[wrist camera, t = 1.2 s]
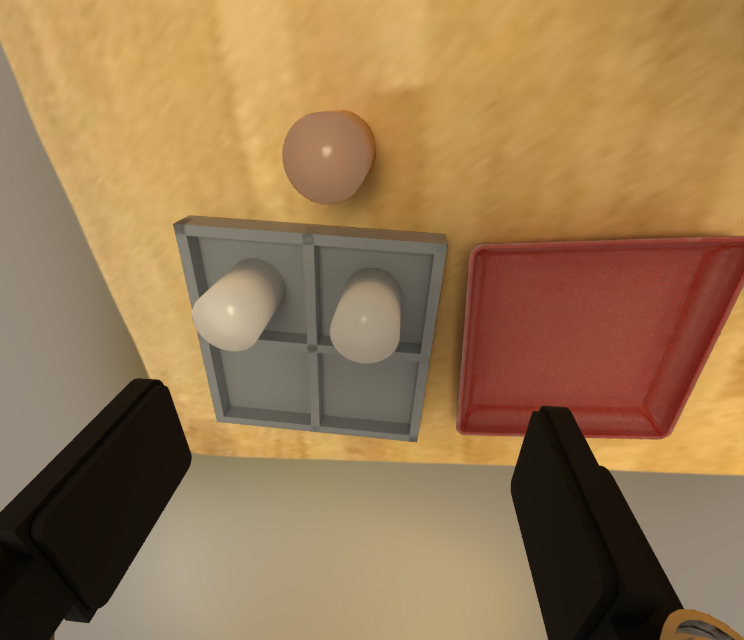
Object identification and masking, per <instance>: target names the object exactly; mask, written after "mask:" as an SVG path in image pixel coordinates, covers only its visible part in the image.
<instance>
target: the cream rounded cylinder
mask: <svg viewBox="0 0 744 640" xmlns="http://www.w3.org/2000/svg"><path fill="white" fill-rule="evenodd" d="M401 295H402V293H401V288H400V285H399V283H398V281H397V280H396V279H395V277H393V276H392V275H391V274H390V273H388V272H387V271H385V270H382V269H379V268H364V269H361V270H358V271H357V272H355V273H353V274H352V275H351V276H350V277H349V279H348V280H347V282H346V284H345V286H344V289H343V292H342V295H341V298H340V300H339V303H338V306H337V309H336V312H335V314H334V317H333V320H332V323H331V326H330V337H331V341H332V343H333V345H334V347H335V348H336V350H337V351H338V352H339V353H340V354H342V355H343V356H344V357H346V358H347V359H349V360H352V361H354V362H358V363H376V362H379V361H382V360H384V359H386V358H388V357H389V356H390V355H391V354H392V353H393V352H394V351H395V350H396V348H397V346H398V343H399V339H400V318H401Z"/></svg>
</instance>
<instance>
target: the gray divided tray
mask: <svg viewBox="0 0 744 640" xmlns="http://www.w3.org/2000/svg"><path fill="white" fill-rule="evenodd" d="M173 226H174V230H175V235H176V239H177V244H178V248H179V253H180V257H181V262H182V266H183V271H184V275H185V280H186V284H187V289H188V293H189V298H190V302H191V307H192V311H193V307H194V304H195V303H196V301H197V300H198V299H199V298H200V297H201V296H202V295H203V294H204V293H205V292H206V291H208V290H209V289H210V288H211V287H212V286H213V285H214V284H215V283H216V282H217V281H218V280H219V279H220V278H222V277H223V276H224V275H225V274H226V273H227V272H228V271H229V270H230V269H231V268H232V267H233V266H235V265H236V264H237V263H238V262H240V261H242V260H244V259H249V258H256V259H261V260H264V261H266V262H268V263H270V264H271V265H273V266H274V267H275V268H276V269H277V270H278V271H279V272H280V274H281V275H282V277H283V279H284V282H285V286H286V293H285V297H284V299H283V301H282V302H281V304H280V305H279V307H278V309H277V310H276V312H275V313H274V315H273V316H272V318H271V319H270V321H269V323H268V324H267V326H266V327H265V329H264V330H263V332H262V333H261V335H260V336H259V338H258V340H257V341H256V342H255V344H254V345H252V346H251V347H250V348H248V349H245V350H242V351H227V350H223V349H220V348H217V347H215V346H213V345H212V344H210V343H209V342H207V341H206V340H205V339H204V338H203V337H202V336H201V335H200V334H199V332H198V331H197V334H198V338H199V343H200V347H201V352H202V356H203V361H204V365H205V370H206V374H207V379H208V383H209V388H210V392H211V397H212V401H213V406H214V410H215V415H216V419H217V422H223V423H233V424H243V425H253V426H262V427H272V428H282V429H292V430H302V431H311V432H321V433H331V434H341V435H351V436H361V437H370V438H380V439H390V440H400V441H410V442H417V439H418V432H419V426H420V420H421V413H422V407H423V400H424V394H425V387H426V381H427V374H428V368H429V361H430V355H431V348H432V342H433V335H434V329H435V323H436V316H437V310H438V303H439V297H440V290H441V284H442V277H443V271H444V264H445V258H446V251H447V245H448V244H447V240H446V236H445V234H437V233H423V232H409V231H396V230H382V229H368V228H354V227H341V226H327V225H313V224H299V223H286V222H272V221H258V220H244V219H231V218H217V217H203V216H188V217H186V218H184V219H182V220H180V221H178V222H176V223H174V224H173ZM364 268H379V269H382V270H385V271H387V272H388V273H390V274H391V275H392V276H393V277H395V279H396V280H397V281H398V283H399V285H400V288H401V293H402V295H401V318H400V339H399V343H398V346H397V348H396V350H395V351H394V352H393V353H392V354H391V355H390V356H389V357H388V358H386V359H384V360H382V361H379V362H376V363H358V362H354V361H352V360H349V359H347V358H346V357H344V356H343V355H342V354H340V353H339V352H338V351H337V350H336V348H335V347H334V345H333V343H332V341H331V337H330V326H331V323H332V320H333V317H334V314H335V312H336V309H337V306H338V303H339V300H340V298H341V295H342V292H343V289H344V286H345V284H346V282H347V280H348V279H349V277H350V276H351V275H352V274H353V273H355V272H357V271H358V270H361V269H364Z"/></svg>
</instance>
